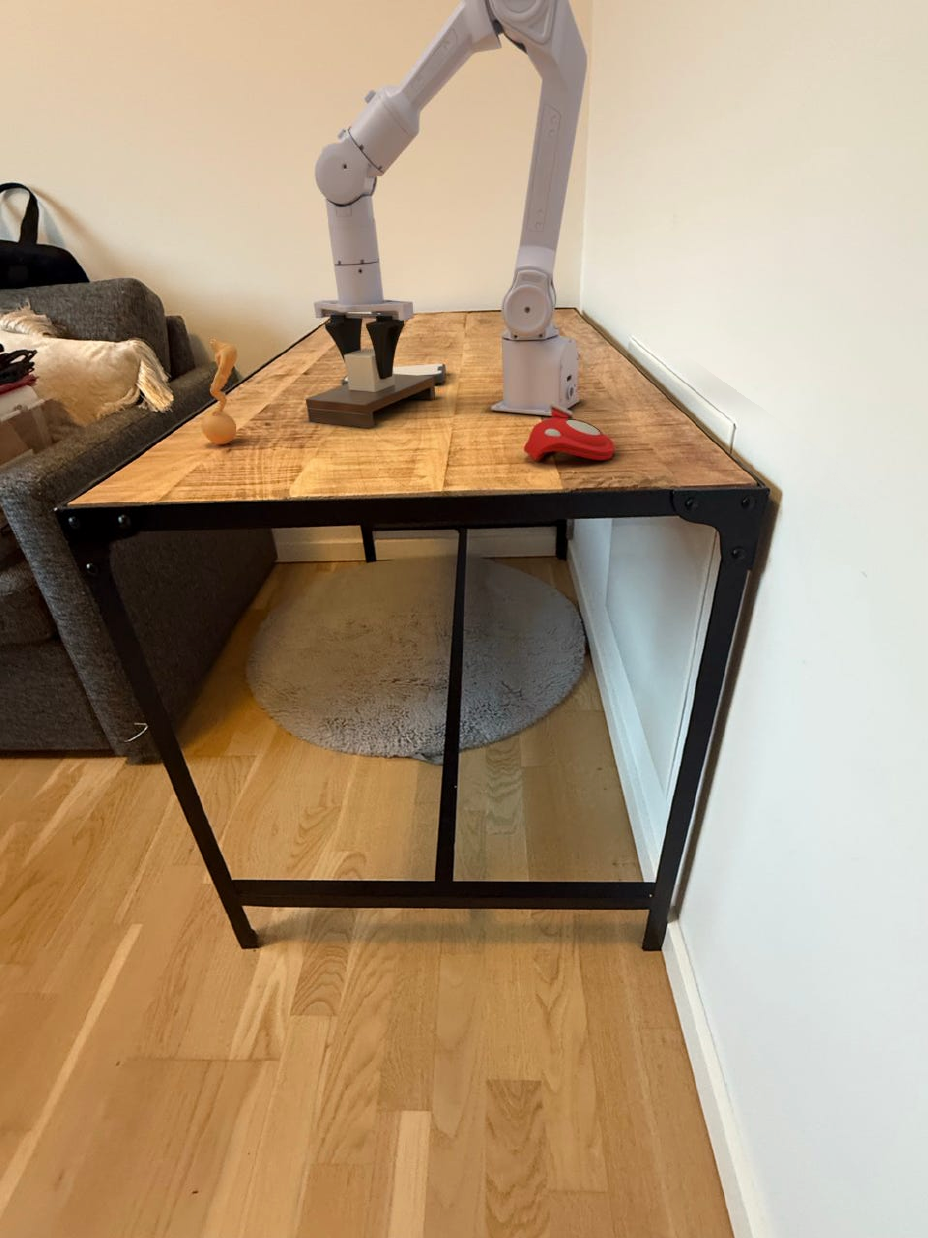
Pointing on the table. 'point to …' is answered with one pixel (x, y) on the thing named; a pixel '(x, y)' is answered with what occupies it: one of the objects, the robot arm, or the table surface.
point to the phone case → (419, 371)
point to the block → (365, 372)
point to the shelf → (365, 401)
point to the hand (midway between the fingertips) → (370, 376)
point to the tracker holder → (568, 437)
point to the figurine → (220, 396)
